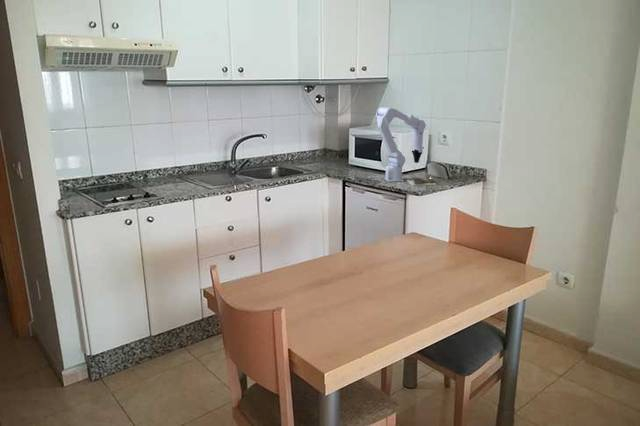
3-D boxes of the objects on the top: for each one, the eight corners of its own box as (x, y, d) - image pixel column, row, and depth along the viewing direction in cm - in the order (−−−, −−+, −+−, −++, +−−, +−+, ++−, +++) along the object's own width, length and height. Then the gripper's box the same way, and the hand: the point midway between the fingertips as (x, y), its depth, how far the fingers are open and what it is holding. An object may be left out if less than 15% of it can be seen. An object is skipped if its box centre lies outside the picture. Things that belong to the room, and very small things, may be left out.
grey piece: (452, 177, 296) (449, 163, 292) (447, 181, 294) (444, 166, 290) (434, 173, 310) (430, 158, 306) (428, 176, 308) (425, 162, 304)
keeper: (415, 184, 275) (415, 179, 275) (412, 182, 281) (412, 177, 280) (421, 184, 276) (421, 179, 275) (418, 182, 281) (418, 177, 280)
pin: (430, 179, 278) (430, 178, 278) (428, 179, 280) (429, 177, 280) (433, 179, 279) (433, 178, 278) (432, 179, 280) (432, 177, 280)
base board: (412, 185, 275) (412, 184, 275) (406, 180, 287) (406, 179, 287) (436, 185, 277) (436, 184, 276) (429, 180, 289) (429, 179, 289)
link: (433, 181, 282) (433, 178, 281) (435, 183, 278) (435, 180, 278) (413, 181, 281) (413, 179, 281) (414, 183, 278) (414, 180, 277)
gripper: (428, 141, 283) (426, 164, 287) (420, 138, 297) (419, 160, 300) (416, 141, 282) (415, 164, 286) (409, 138, 296) (408, 160, 300)
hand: (416, 162), depth 293 cm, fingers closed
